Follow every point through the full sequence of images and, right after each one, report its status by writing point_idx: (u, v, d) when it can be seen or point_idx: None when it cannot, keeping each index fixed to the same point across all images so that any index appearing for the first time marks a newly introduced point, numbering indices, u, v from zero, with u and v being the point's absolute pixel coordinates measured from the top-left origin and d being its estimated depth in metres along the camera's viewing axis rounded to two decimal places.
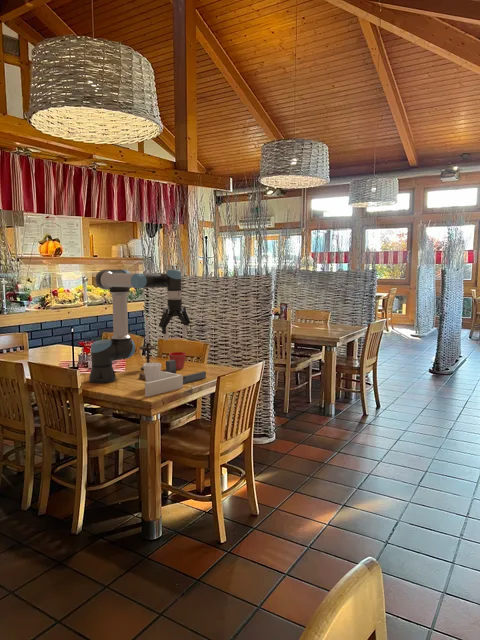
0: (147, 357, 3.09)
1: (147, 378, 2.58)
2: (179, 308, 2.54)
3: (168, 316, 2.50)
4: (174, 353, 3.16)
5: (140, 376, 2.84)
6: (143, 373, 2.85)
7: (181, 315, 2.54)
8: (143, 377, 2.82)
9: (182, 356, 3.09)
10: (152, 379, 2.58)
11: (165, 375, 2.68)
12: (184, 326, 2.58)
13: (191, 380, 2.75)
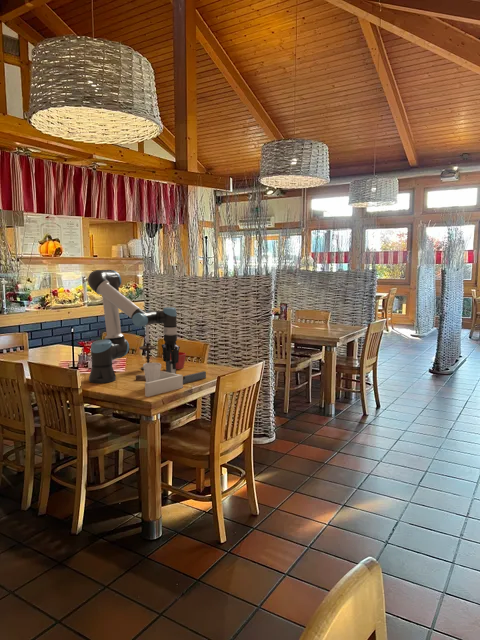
0: (147, 357, 3.09)
1: (147, 378, 2.58)
2: (172, 343, 2.72)
3: None
4: None
5: (137, 378, 2.79)
6: (138, 375, 2.81)
7: (170, 351, 2.73)
8: (142, 378, 2.79)
9: (182, 356, 3.09)
10: (152, 379, 2.58)
11: (165, 375, 2.68)
12: None
13: (191, 380, 2.75)
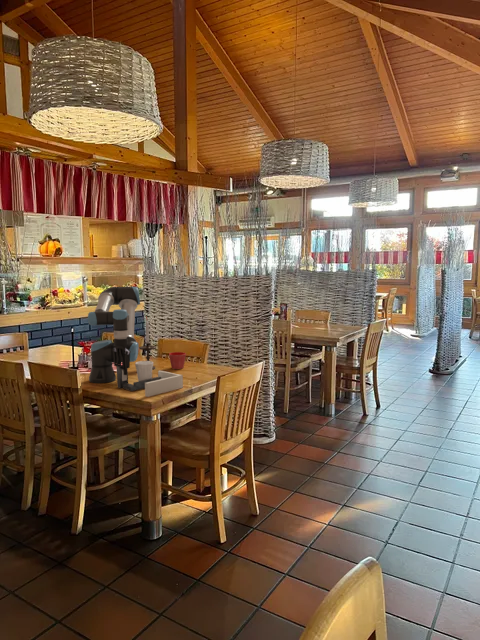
0: (147, 357, 3.09)
1: (139, 376, 2.63)
2: (122, 347, 2.57)
3: None
4: (174, 353, 3.16)
5: None
6: None
7: (120, 356, 2.58)
8: None
9: (182, 356, 3.09)
10: (143, 377, 2.62)
11: (165, 375, 2.68)
12: None
13: (143, 386, 2.59)
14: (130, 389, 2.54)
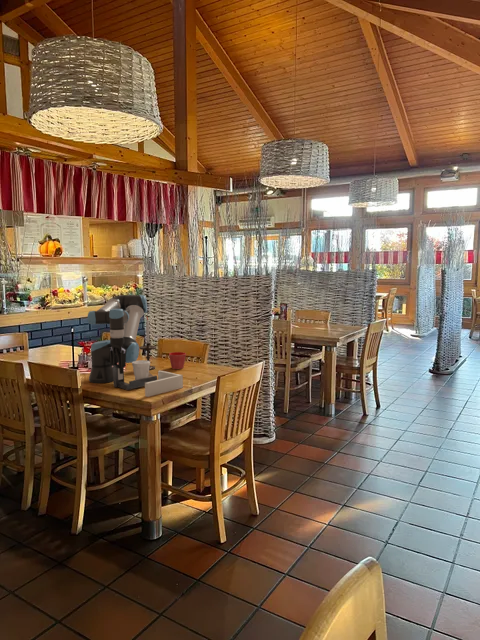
0: (147, 357, 3.09)
1: (135, 375, 2.66)
2: (118, 346, 2.59)
3: None
4: (174, 353, 3.16)
5: None
6: None
7: (116, 355, 2.60)
8: None
9: (182, 356, 3.09)
10: (139, 376, 2.64)
11: (165, 375, 2.68)
12: None
13: (139, 385, 2.60)
14: (126, 388, 2.56)
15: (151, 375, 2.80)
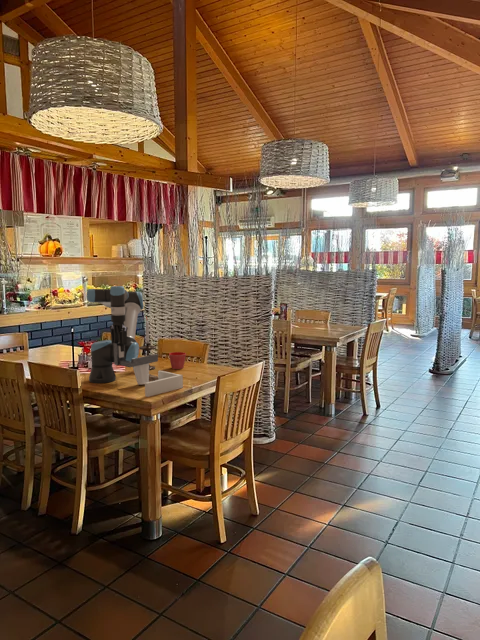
0: None
1: (135, 375, 2.66)
2: (119, 324, 2.57)
3: None
4: (174, 353, 3.16)
5: None
6: (155, 377, 2.75)
7: (117, 332, 2.57)
8: None
9: (182, 356, 3.09)
10: (139, 375, 2.64)
11: (165, 375, 2.68)
12: None
13: (140, 363, 2.59)
14: (128, 365, 2.54)
15: (151, 375, 2.80)
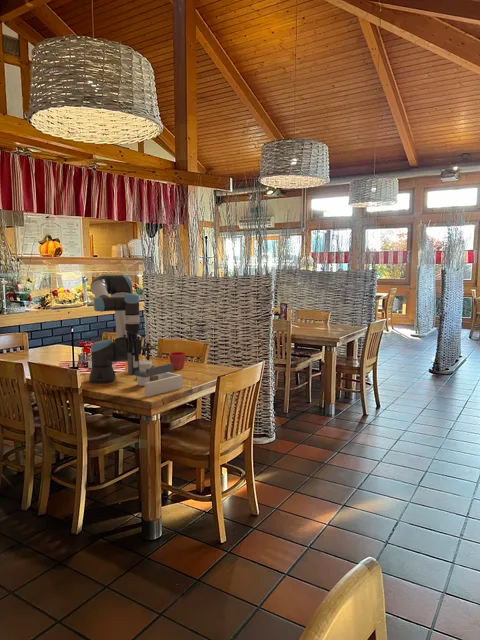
0: (147, 357, 3.09)
1: None
2: (134, 332, 2.49)
3: None
4: (174, 353, 3.16)
5: None
6: None
7: (132, 341, 2.50)
8: None
9: (182, 356, 3.09)
10: (140, 377, 2.64)
11: (165, 375, 2.68)
12: None
13: (155, 373, 2.51)
14: (143, 375, 2.46)
15: None
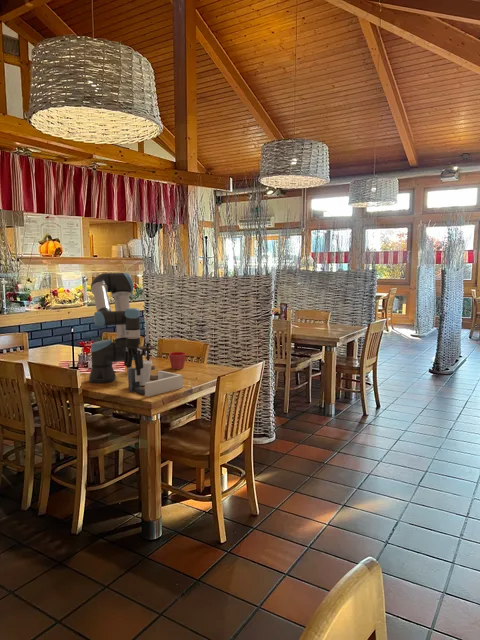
0: (147, 357, 3.09)
1: None
2: (134, 347, 2.50)
3: None
4: (174, 353, 3.16)
5: None
6: None
7: (133, 356, 2.50)
8: None
9: (182, 356, 3.09)
10: (140, 376, 2.64)
11: (165, 375, 2.68)
12: None
13: None
14: (143, 393, 2.47)
15: None
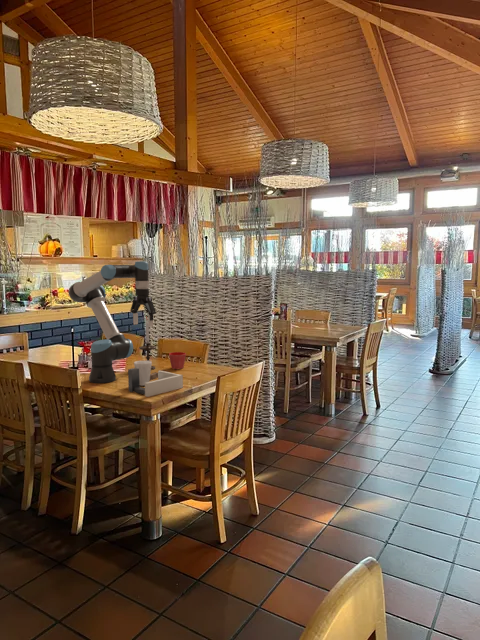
0: (147, 357, 3.09)
1: None
2: (143, 297, 2.70)
3: None
4: (174, 353, 3.16)
5: None
6: (156, 373, 2.86)
7: (143, 304, 2.69)
8: None
9: (182, 356, 3.09)
10: (140, 376, 2.64)
11: (165, 375, 2.68)
12: None
13: None
14: (143, 393, 2.47)
15: None
